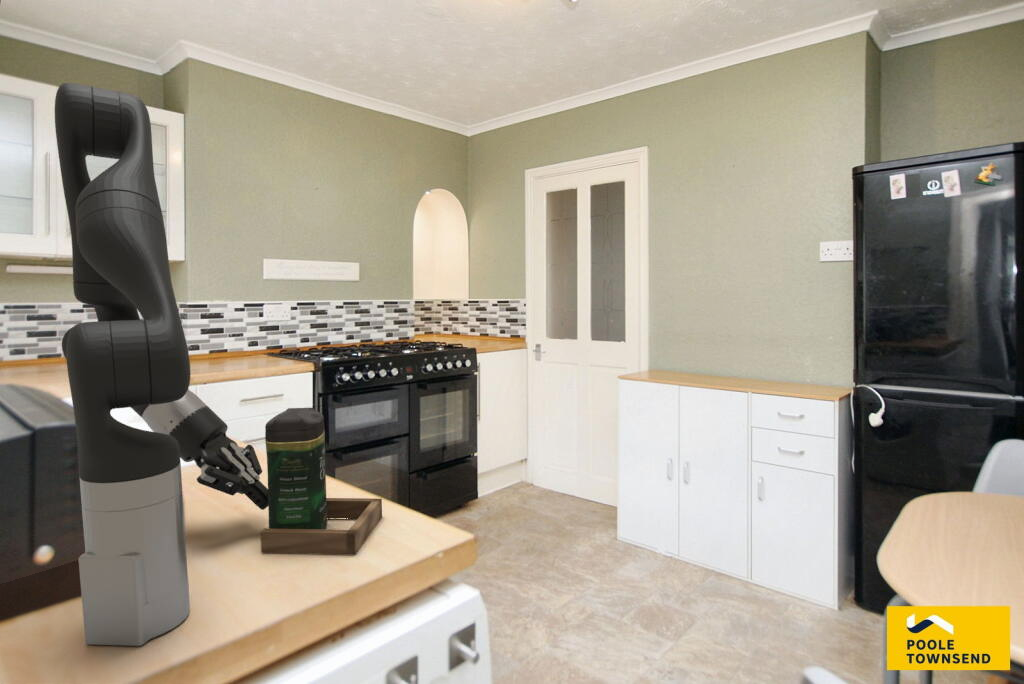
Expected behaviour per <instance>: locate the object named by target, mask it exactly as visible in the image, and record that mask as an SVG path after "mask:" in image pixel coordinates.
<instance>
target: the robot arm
mask: <svg viewBox="0 0 1024 684" xmlns="http://www.w3.org/2000/svg"><path fill="white" fill-rule="evenodd" d="M150 118H151V117H150V113H149V111H148V108H147V106H146V103H144V101H143V100H142V99H141V98H139V97H138V96H136V95H133V94H130V93H128V92H125V91H117V90H113V89H108V88H102V87H97V86H90V85H87V84H86V85H85V84H80V83H74V82H64V83H61V84H60V85H59V86H58V88H57V91H56V93H55V99H54V127H55V136H56V137H55V138H56V146H57V152H58V161H59V169H60V175H61V180H62V181H61V182H62V187H63V188H62V189H63V194H64V200H65V206H66V211H67V215H68V222H69V230H70V237H71V249H72V250H71V252H72V253H71V255H72V278H73V279H72V280H73V281H72V284H73V294H74V297H75V299H76V300H77V301H78V302H80V303H82V304H84V305H89V306H93V309H94V311H95V314H96V318H97V321H84V322H79V323H76V324H74V326H72V327H70V328H68V330H67V331H66V332H65V333H64V334H63V337H62V339H61V351H62V354H63V356H64V358H65V361H66V368H67V377H68V383H69V389H70V395H71V402H72V408H73V413H74V414H73V417H74V421H75V428H76V429H75V430H76V431H75V432H76V443H77V456H78V457H77V459H78V460H77V461H78V476H79V477H78V478H79V486H80V487H79V488H80V489H79V490H80V500H81V511H82V512H81V513H82V515H81V517H82V525H83V527H82V528H83V539H84V541H83V542H84V549H85V550H84V551H85V552H84V553H82V554H81V555H80V556H79V557H78V567H79V568H78V569H79V582H80V592H81V593H80V595H81V605H82V615H83V616H82V617H83V618H82V619H83V627H84V628H83V629H84V631H83V632H84V640H85V641H84V642H85V644H86V645H98V646H99V645H101V646H106V645H107V646H135V647H141V646H142V645H144V644H146V643H147V642H148V641H150V640H151V639H154V638H155V637H158V636H161V635H164V634H165V633H168V632H169V631H171V630H173V629H174V628H176V627H177V626H179V625H181V624H182V622H184V621H185V620H186V619H187V617H188V616H189V614H190V610H191V604H190V603H191V602H190V589H189V587H190V586H189V574H188V561H187V559H188V557H187V546H186V545H187V543H186V530H185V529H186V528H185V514H184V513H185V512H184V499H183V498H184V497H183V481H182V480H183V478H182V465H181V460H182V461H183V462H184V463H191V462H193V461H194V462H195V465H196V466H197V467H198V468H199V469H200V473H201V474H200V475H199V476H198V477H197V478H196V482H197V483H198V484H200V485H203V486H206V487H208V488H211V489H213V490H215V491H216V490H217V491H219V492H222V493H223V494H224V493H225V494H227V495H229V496H235V495H236V494H239V495H245V496H246V497H247V498H248V499H249V500H250V501H251V502H253V504H255V506H256V507H258V508H259V509H260V510H262V511H264V510H265V509H267V508H268V487H267V486H266V485H264V484H263V483H262V482H261V480H260V479H261V478H260V475H261V474H262V473H263V470H262V467H261V464H260V461H259V459H258V456H257V453H256V450H255V448H254V446H253V445H252V444H247V445H246V446H245V447H242V446H240V445H238V443H237V442H236V441H235V440H233V439H231V438H229V437H228V436H227V431H228V428H229V427H228V424H227V423H226V422H225V421H224V420H223V419H222V418H220V416H218V414H216V413H215V412H214V411H213V410H212V409H211V408H210V407H209V406H208V405H207V404H206V403H205V402H204V401H203V400H202V399H201V398H200V397H199V396H198V395H196V393H194V392H193V391H191V390H190V389H189V387H190V384H191V375H192V374H191V360H190V354H189V349H188V345H187V339H186V336H185V335H186V334H185V331H184V326H183V323H182V319H181V316H180V311H179V308H178V304H177V301H176V295H175V291H174V288H173V283H172V276H171V270H170V263H169V262H170V261H169V253H168V243H167V242H168V241H167V235H166V234H167V233H166V229H165V222H164V221H165V220H164V216H163V211H162V207H161V202H160V197H159V193H158V187H157V183H156V178H155V176H156V175H155V167H154V155H153V137H152V124H151V119H150ZM87 156H93V157H99V158H107V159H108V158H109V159H113V160H114V159H115V160H117V161H116V162H115V163H114V164H112V165H111V166H109V167H107V168H106V169H105V170H104V171H102V172H101V173H99V174H98V175H97V176H95V178H93V179H92V180H91V177H90V175H89V174H90V173H89V171H88V168H87V167H88V165H87V161H86V160H87V159H86V158H87ZM139 314H140V315H139ZM140 316H141V317H140ZM141 318H142V319H141ZM126 408H131V409H132V410H133V411H134V412H135V413H136V414H137V415H138V416H139V417H140V418H142V420H143V421H144V422H145V423H146V425H147V426H148V427H149V429H151V430H146V429H145V430H143V429H139V428H135V427H133V426H131V425H127V424H124V423H123V422H120V421H119V420H118V419H115V417H113V416H112V414H111V411H112V410H115V409H126Z"/></svg>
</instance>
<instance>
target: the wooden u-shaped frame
mask: <svg viewBox="0 0 1024 684" xmlns="http://www.w3.org/2000/svg"><path fill="white" fill-rule="evenodd" d="M382 499H383V498H364V497H363V498H360V497H359V498H357V497H355V498H354V497H326V500H327V518H346V519H345V520H353V519H357V520H355V521H354V523H353V524H351V526H350V527H349V529H330V528H329V529H327V528H325V529H269V528H266V527H265V528H263V529H262V530H261V531H260V532H259V534H260V547H261V548H260V549H261V554H293V553H297V555H298V554H301V553H302V555H304V554H305V553H306V554H305V555H310V554H309V553H312V554H311V555H314V554H313V553H318V554H317V555H346V554H355V555H356V554H357V553H358V552H359V550H360V549H359V548H361V547H362V546H361V545H363V544H364V543H365V542H366V541H367V539H368V537H369V536H370V535H371V533H372V532H373V531H374V529H375V528H376V527H377V525H378V524H379V522H380V521H381V519H382V518H383V505H382V503H383V501H382ZM347 518H348V519H347ZM372 530H373V531H372ZM369 534H370V535H369ZM364 541H365V542H364ZM363 542H364V543H363ZM358 549H359V550H358ZM262 552H263V553H262ZM356 552H357V553H356ZM303 553H304V554H303ZM307 553H308V554H307ZM319 553H320V554H319ZM321 553H322V554H321Z"/></svg>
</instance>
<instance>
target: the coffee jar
mask: <svg viewBox="0 0 1024 684" xmlns="http://www.w3.org/2000/svg"><path fill="white" fill-rule="evenodd" d="M324 420H325V418H324V415H323V413H322V412H320V411H318V410H316V409H315V408H314V407H290V408H289V407H288V408H286V410H284V411H282V412H280V413H278V414H277V415H275V416H274V417H272V418H271V419H269V421H267V422H266V424H265V426H264V428H265V433H264V434H265V437H264V438H265V439H264V440H265V451H266V452H265V453H266V465H267V489H268V507H267V508H268V529H326V526H327V524H328V519H327V500H326V498H327V479H326V478H327V476H326V471H327V470H326V441H325V437H326V436H325V434H326V433H325V421H324Z"/></svg>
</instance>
